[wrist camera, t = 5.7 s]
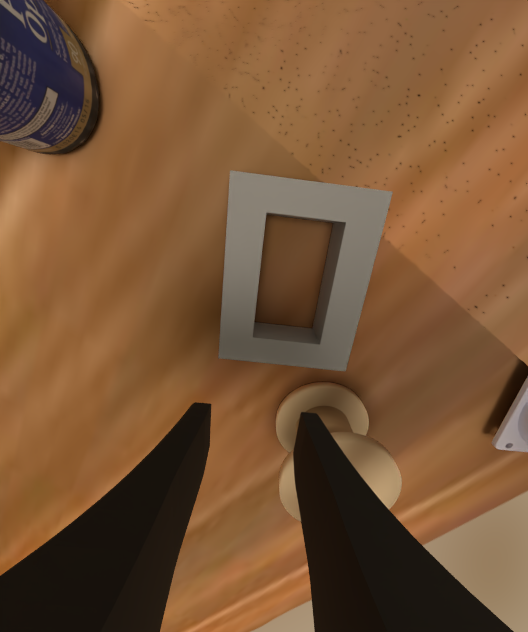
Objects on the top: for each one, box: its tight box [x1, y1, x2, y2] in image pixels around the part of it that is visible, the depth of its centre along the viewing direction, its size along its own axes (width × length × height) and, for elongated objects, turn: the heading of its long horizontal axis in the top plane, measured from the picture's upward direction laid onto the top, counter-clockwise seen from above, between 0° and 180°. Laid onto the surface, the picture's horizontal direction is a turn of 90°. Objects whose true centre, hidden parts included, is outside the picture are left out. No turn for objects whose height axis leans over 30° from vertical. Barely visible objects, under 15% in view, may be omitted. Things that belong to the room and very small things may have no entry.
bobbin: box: [276, 382, 402, 522], centre depth 17 cm, size 7×7×6 cm
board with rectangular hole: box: [219, 170, 393, 371], centre depth 15 cm, size 8×10×2 cm
